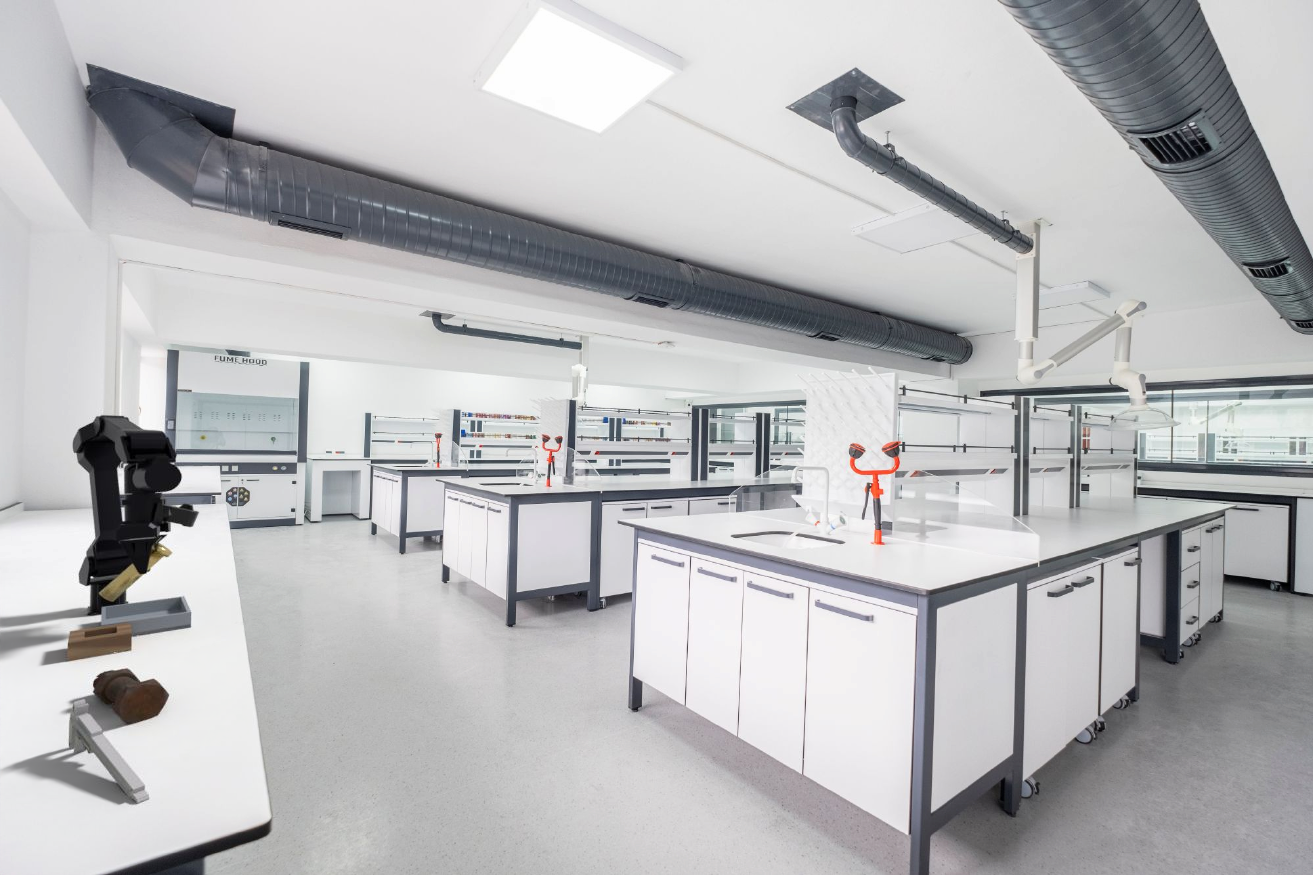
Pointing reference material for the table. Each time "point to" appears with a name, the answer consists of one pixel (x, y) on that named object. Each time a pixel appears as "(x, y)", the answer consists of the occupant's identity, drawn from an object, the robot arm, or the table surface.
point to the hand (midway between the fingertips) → (144, 573)
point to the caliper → (102, 751)
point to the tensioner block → (99, 641)
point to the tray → (149, 615)
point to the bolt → (130, 695)
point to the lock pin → (132, 574)
